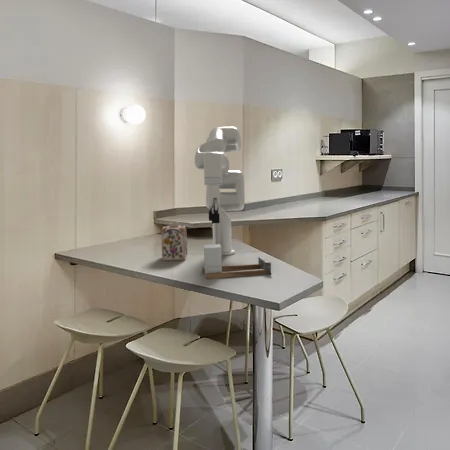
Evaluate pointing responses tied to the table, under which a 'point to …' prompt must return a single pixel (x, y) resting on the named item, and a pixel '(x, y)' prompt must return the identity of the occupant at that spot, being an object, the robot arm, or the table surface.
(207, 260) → the supplement box
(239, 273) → the guide lane
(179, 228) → the decorative jar
